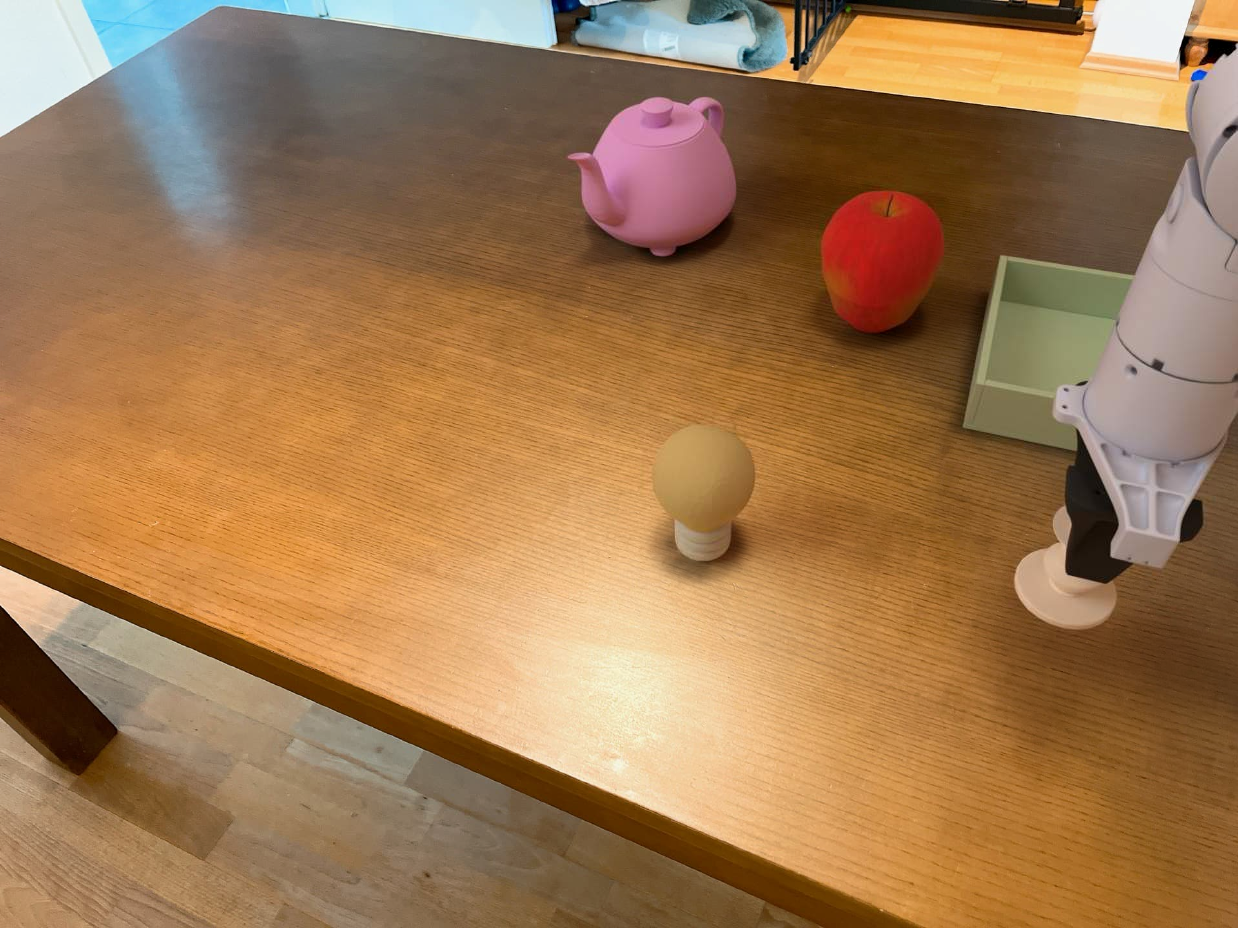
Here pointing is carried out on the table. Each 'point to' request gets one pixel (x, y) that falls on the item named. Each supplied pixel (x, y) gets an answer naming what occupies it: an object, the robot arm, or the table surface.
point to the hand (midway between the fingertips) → (1088, 540)
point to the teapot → (660, 174)
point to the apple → (881, 258)
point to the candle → (1062, 586)
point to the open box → (1039, 345)
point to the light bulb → (703, 487)
